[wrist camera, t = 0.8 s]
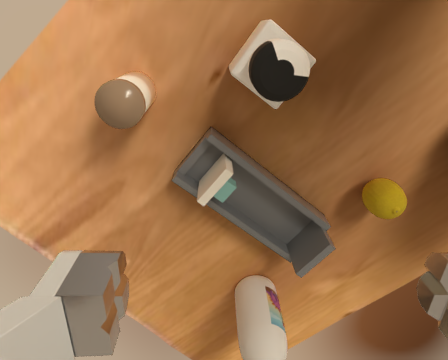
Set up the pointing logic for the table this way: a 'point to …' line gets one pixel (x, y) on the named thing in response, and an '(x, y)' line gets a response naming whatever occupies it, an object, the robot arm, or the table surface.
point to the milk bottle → (259, 320)
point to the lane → (260, 203)
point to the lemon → (384, 198)
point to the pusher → (217, 181)
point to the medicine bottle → (272, 64)
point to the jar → (125, 99)
